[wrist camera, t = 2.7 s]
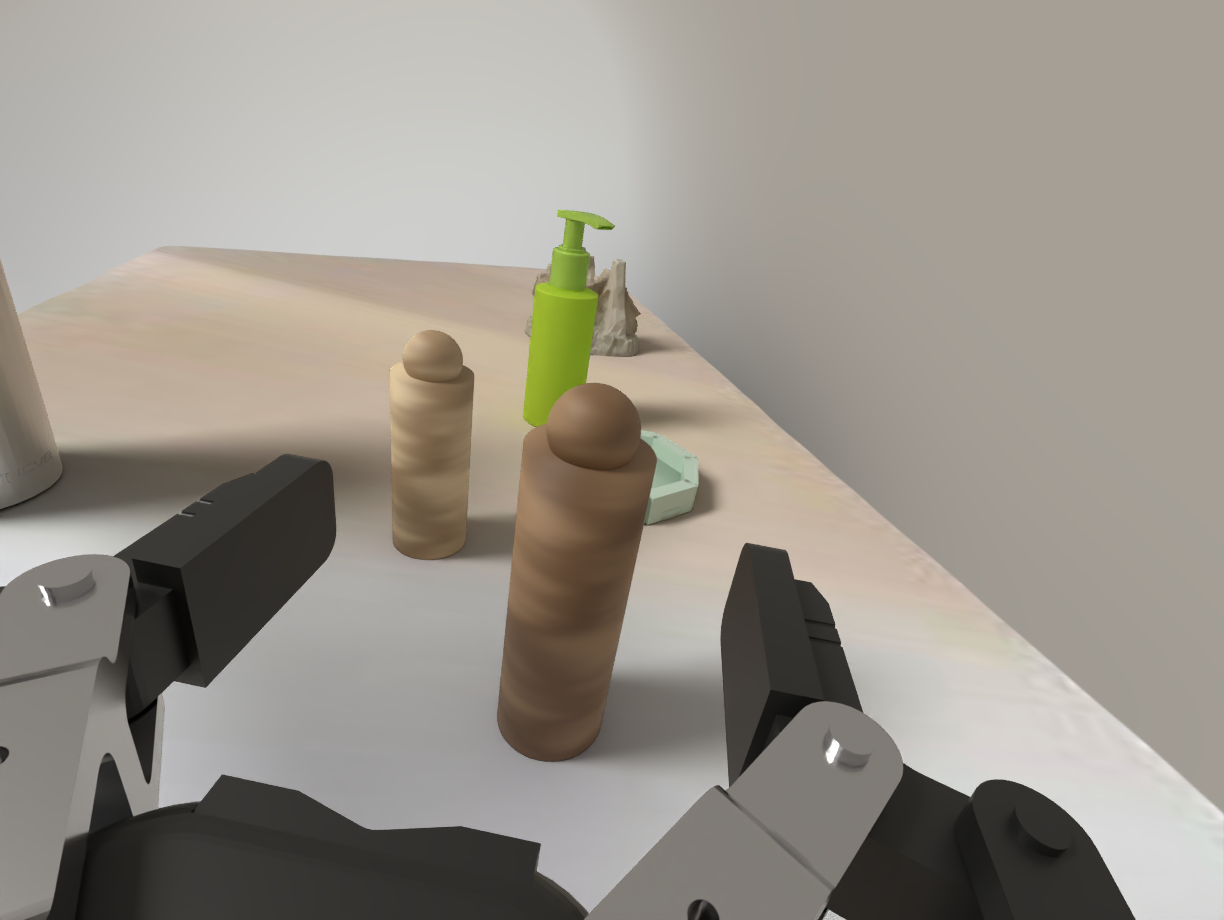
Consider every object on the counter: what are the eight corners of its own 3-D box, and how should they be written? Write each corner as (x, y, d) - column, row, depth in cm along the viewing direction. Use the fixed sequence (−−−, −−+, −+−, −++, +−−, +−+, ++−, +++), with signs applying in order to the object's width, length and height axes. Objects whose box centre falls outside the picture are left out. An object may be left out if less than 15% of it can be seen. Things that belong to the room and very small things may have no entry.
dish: (534, 504, 47) (537, 477, 46) (564, 438, 58) (567, 415, 57) (693, 535, 46) (700, 509, 45) (693, 463, 58) (698, 440, 57)
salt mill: (379, 551, 39) (373, 334, 33) (410, 513, 43) (410, 314, 37) (451, 565, 39) (459, 350, 32) (475, 525, 43) (486, 328, 37)
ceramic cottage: (644, 360, 84) (659, 246, 77) (525, 352, 81) (531, 234, 74) (625, 334, 98) (636, 236, 91) (523, 327, 95) (528, 225, 88)
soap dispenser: (556, 439, 58) (583, 218, 48) (511, 412, 61) (529, 203, 52) (599, 427, 62) (631, 220, 52) (554, 402, 65) (578, 206, 56)
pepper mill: (483, 748, 28) (512, 397, 20) (513, 665, 33) (546, 353, 25) (593, 772, 28) (667, 427, 20) (607, 684, 32) (672, 377, 24)
